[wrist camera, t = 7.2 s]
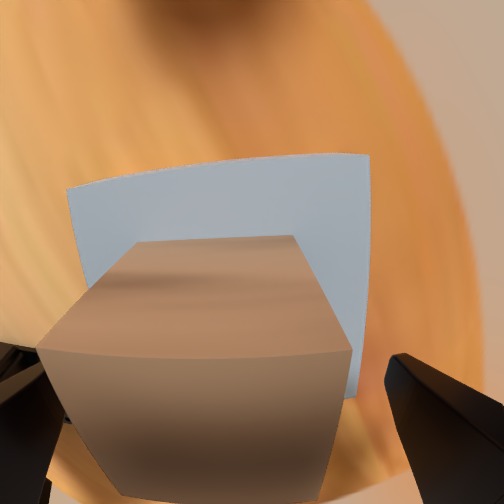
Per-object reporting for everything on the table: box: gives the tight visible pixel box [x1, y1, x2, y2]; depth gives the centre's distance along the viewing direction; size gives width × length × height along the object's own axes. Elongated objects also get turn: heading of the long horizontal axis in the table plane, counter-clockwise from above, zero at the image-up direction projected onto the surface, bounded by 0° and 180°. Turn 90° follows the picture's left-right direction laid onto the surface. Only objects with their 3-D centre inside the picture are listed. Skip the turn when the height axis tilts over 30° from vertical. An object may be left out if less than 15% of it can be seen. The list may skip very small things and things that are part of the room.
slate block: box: [66, 153, 371, 399], centre depth 13 cm, size 10×10×4 cm
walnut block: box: [35, 235, 353, 504], centre depth 8 cm, size 5×5×6 cm
